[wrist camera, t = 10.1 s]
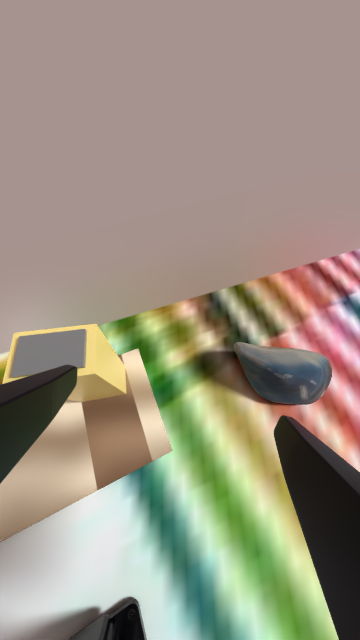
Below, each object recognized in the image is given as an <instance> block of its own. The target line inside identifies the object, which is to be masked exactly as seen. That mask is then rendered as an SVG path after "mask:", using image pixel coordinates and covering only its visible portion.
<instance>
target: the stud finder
mask: <svg viewBox="0 0 360 640" xmlns="http://www.w3.org/2000/svg"><path fill="white" fill-rule="evenodd" d="M67 364H68V365H73V366H76V367H77V369H78V371H77V384H76V386H75V388H74V390H73V391H72V393H71V394H70V396H69V397H68V400H74V401H79V402H85V401H91V400H96V399H102V398H107V397H113V396H119V395H124V394H126V375H125V365H124V364H123V362H122V361H121V360H120V358H119V357H118V355H117V354H116V352H115V351H114V349H113V348H112V346H111V345H110V344H109V342H108V341H107V339H106V338H105V336H104V335H103V333H102V332H101V330H100V329H99V328H98V326H97V325H96V324H90V325H81V326H72V327H63V328H54V329H45V330H36V331H27V332H18V333H14V335H13V340H12V344H11V349H10V353H9V357H8V361H7V365H6V370H5V374H4V378H3V383H2V384H4V383H8V382H11V381H14V380H17V379H21V378H24V377H27V376H31V375H34V374H37V373H40V372H44V371H47V370H50V369H53V368H57V367H60V366H63V365H67Z"/></svg>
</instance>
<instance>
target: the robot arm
mask: <svg viewBox="0 0 360 640" xmlns="http://www.w3.org/2000/svg"><path fill="white" fill-rule="evenodd" d="M77 371H78V369H77V367H76V366H73V365H68V364H67V365H63V366H60V367H57V368H53V369H50V370H47V371H44V372H40V373H37V374H34V375H31V376H27V377H24V378H21V379H17V380H14V381H11V382H8V383H4V384H1V385H0V484H1V483H2V481H3V480H4V479H5V478H6V476H7V475H8V474H9V473H10V472H11V470H12V469H13V468H14V467H15V466H16V464H17V463H18V462H19V461H20V460H21V458H22V457H23V456H24V455H25V453H26V452H27V451H28V450H29V449H30V447H31V446H32V445H33V444H34V443H35V441H36V440H37V439H38V438H39V437H40V435H41V434H42V433H43V432H44V430H45V429H46V428H47V427H48V426H49V424H50V423H51V422H52V420H53V419H54V418H55V416H56V415H57V413H58V412H59V410H60V409H61V407H62V406H63V405H64V403H65V402H66V400H67V399H68V397H69V396H70V394H71V393H72V391H73V390H74V388H75V386H76V384H77ZM274 438H275V442H276V446H277V450H278V454H279V458H280V462H281V466H282V470H283V474H284V477H285V480H286V484H287V487H288V490H289V493H290V496H291V499H292V502H293V504H294V507H295V510H296V513H297V516H298V519H299V522H300V525H301V528H302V531H303V534H304V537H305V540H306V543H307V546H308V549H309V552H310V555H311V558H312V561H313V564H314V567H315V570H316V573H317V576H318V579H319V582H320V585H321V588H322V591H323V594H324V597H325V600H326V603H327V606H328V609H329V611H330V614H331V617H332V620H333V623H334V626H335V629H336V632H337V635H338V638H339V640H360V472H358V471H357V470H356V469H355V468H354V467H352V466H351V465H350V464H349V463H347V462H346V461H345V460H344V459H343V458H341V457H340V456H339V455H338V454H336V453H335V452H334V451H333V450H332V449H330V448H329V447H328V446H327V445H325V444H324V443H323V442H322V441H321V440H319V439H318V438H317V437H316V436H314V435H313V434H312V433H311V432H310V431H308V430H307V429H306V428H305V427H303V426H302V425H301V424H300V423H299V422H297V421H296V420H295V419H294V418H292V417H288V416H284V415H283V416H281V417H280V419H279V421H278V423H277V425H276V427H275V429H274ZM130 609H134V610H135V613H134V614H133V615H131V614H130V613H129V611H130ZM69 640H147V639H146V634H145V630H144V625H143V620H142V616H141V611H140V606H139V603H138V601H137V600H136V599H134V598H133V599H130V600H129V601H128V602H126V603H125V604H123V605H122V606H121V607H119V608H118V609H116V610H115V611H114V612H112V613H111V614H109V615H108V614H104V615H102V616H101V617H99V618H98V619H97V620H95V621H94V622H92V623H91V624H89V625H88V626H87V627H85V628H84V629H82V630H81V631H80V632H78V633H77V634H75V635H74V636H73V637H71V638H70V639H69Z"/></svg>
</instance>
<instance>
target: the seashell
mask: <svg viewBox="0 0 360 640" xmlns="http://www.w3.org/2000/svg"><path fill="white" fill-rule="evenodd" d="M234 351H235V353H236V355H237V357H238V359H239V361H240V363H241V366H242V368H243V370H244V372H245V375H246V377H247V378H248V381H249V382H250V384H251V386H252V387H253V389H254V390H255V391H256V392H257V393H258V394H259V395H260V396H261V397H263V398H265V399H267V400H269V401H271V402H278V403H283V404H306V405H307V404H312V403H314V402H315V401H317V400H318V399H319V398H321V397H322V395H323V394H324V393H325V391H326V389H327V387H328V385H329V383H330V381H331V377H332V368H331V364H330V362H329V361H328V359H327V358H326V357H324V356H323V355H321V354H319V353H316V352H312V351H307V350H302V349H293V348H278V347H266V346H257V345H251V344H247V343H242V342H237V343H235V344H234Z"/></svg>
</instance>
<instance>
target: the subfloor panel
mask: <svg viewBox="0 0 360 640" xmlns="http://www.w3.org/2000/svg"><path fill="white" fill-rule="evenodd" d="M118 357H119V358H120V360H121V361H122V362H123V364H124V365H125V375H126V394H124V395H119V396H113V397H107V398H102V399H96V400H91V401H85V402H79V401H74V400H68V399H67V400H66V402H65V403H64V405H63V406H62V407H61V409H60V410H59V412H58V413H57V415H56V416H55V418H54V419H53V420H52V422H51V423H50V424H49V426H48V427H47V428H46V429H45V430H44V432H43V433H42V434H41V435H40V437H39V438H38V439H37V440H36V441H35V443H34V444H33V445H32V446H31V447H30V449H29V450H28V451H27V452H26V453H25V455H24V456H23V457H22V458H21V460H20V461H19V462H18V463H17V464H16V466H15V467H14V468H13V469H12V470H11V472H10V473H9V474H8V475H7V476H6V478H5V479H4V480H3V481H2V483H1V484H0V542H1V541H3V540H5V539H7V538H9V537H11V536H13V535H14V534H16V533H18V532H20V531H22V530H24V529H26V528H28V527H29V526H31V525H33V524H35V523H37V522H39V521H41V520H43V519H45V518H46V517H48V516H50V515H52V514H54V513H56V512H58V511H60V510H62V509H63V508H65V507H67V506H69V505H71V504H73V503H75V502H77V501H78V500H80V499H82V498H84V497H86V496H88V495H90V494H92V493H94V492H95V491H97V490H99V489H101V488H103V487H105V486H107V485H109V484H110V483H112V482H114V481H116V480H118V479H120V478H122V477H124V476H126V475H127V474H129V473H131V472H133V471H135V470H137V469H139V468H141V467H143V466H144V465H146V464H148V463H150V462H152V461H154V460H156V459H158V458H159V457H161V456H163V455H165V454H167V453H169V452H171V451H172V448H171V445H170V442H169V439H168V436H167V433H166V430H165V427H164V424H163V421H162V418H161V415H160V412H159V410H158V407H157V404H156V401H155V398H154V395H153V392H152V389H151V386H150V383H149V380H148V377H147V374H146V371H145V368H144V365H143V362H142V359H141V356H140V353H139V350H138V349H135V350H133V351H130V352H127V353H124V354H121V355H118Z"/></svg>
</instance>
